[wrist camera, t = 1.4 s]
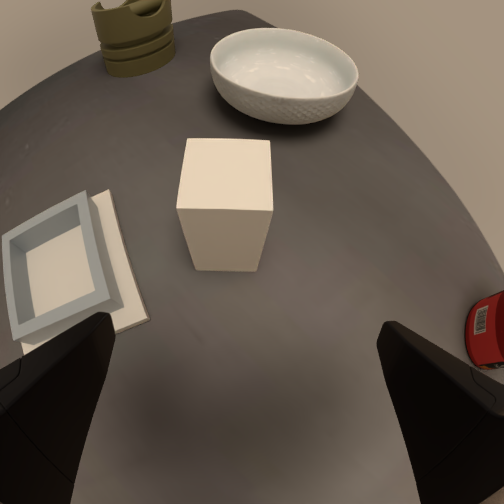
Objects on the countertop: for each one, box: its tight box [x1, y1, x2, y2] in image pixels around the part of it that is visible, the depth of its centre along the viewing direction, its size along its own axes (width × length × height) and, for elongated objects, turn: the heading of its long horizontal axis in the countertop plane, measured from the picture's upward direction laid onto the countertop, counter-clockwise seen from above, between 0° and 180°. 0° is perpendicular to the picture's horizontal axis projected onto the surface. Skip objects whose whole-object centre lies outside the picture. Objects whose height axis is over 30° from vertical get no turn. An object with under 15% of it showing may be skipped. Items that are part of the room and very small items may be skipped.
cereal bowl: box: [210, 28, 358, 125], centre depth 30 cm, size 17×17×7 cm
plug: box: [176, 138, 273, 272], centre depth 20 cm, size 5×5×10 cm
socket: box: [2, 190, 150, 355], centre depth 21 cm, size 13×13×4 cm
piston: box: [91, 0, 175, 77], centre depth 30 cm, size 11×12×11 cm
